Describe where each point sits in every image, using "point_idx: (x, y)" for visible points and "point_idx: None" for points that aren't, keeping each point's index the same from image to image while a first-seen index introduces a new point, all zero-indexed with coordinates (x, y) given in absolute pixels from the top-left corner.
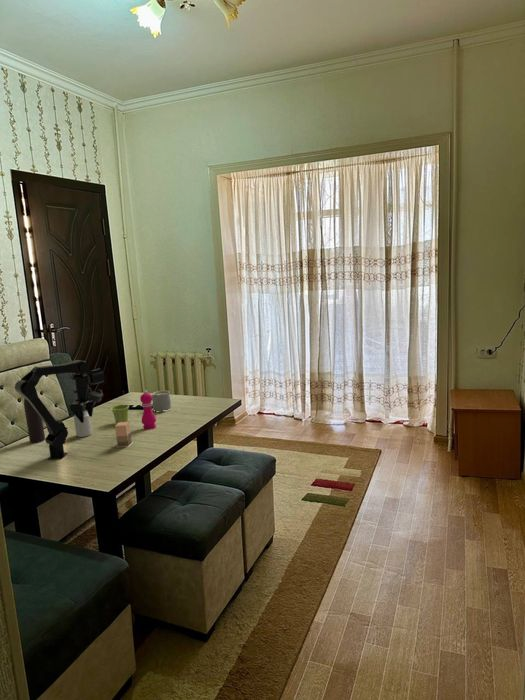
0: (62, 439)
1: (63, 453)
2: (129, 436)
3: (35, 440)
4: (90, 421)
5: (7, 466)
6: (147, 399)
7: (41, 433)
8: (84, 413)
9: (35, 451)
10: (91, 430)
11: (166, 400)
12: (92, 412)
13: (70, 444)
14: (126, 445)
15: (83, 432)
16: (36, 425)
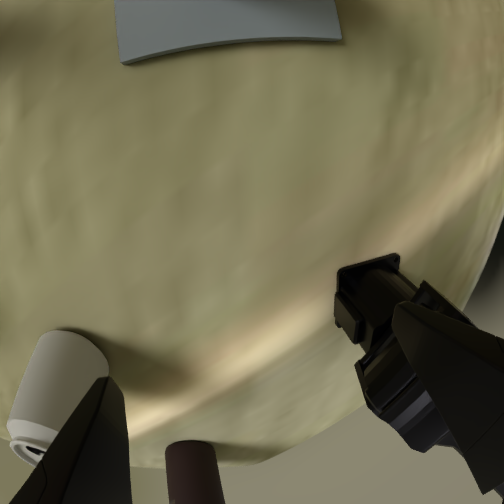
0: (446, 299)
1: (376, 270)
2: None
3: (212, 451)
4: (21, 382)
5: None
6: None
7: (194, 464)
8: (43, 450)
9: (291, 402)
10: (43, 341)
11: None
12: (74, 417)
13: (203, 343)
14: None
15: (91, 360)
16: (212, 496)
